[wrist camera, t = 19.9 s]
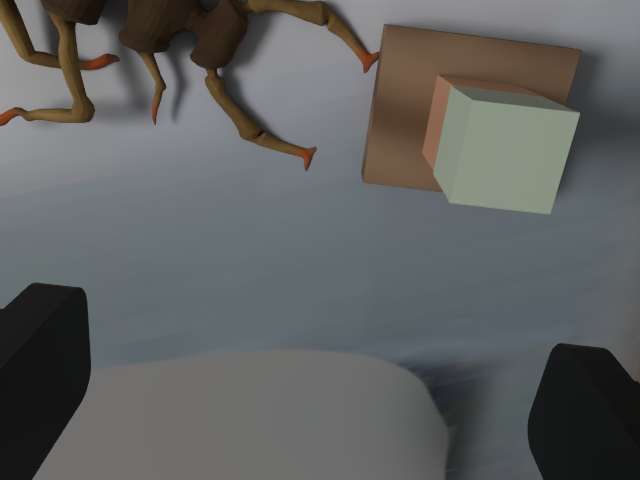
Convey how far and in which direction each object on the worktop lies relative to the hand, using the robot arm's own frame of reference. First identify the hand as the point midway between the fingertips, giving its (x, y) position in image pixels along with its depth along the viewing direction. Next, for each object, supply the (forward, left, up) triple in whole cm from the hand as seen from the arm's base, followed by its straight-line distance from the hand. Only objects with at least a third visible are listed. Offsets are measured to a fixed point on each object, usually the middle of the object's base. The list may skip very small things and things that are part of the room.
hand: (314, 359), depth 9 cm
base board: (0, +9, -30) cm, 31 cm away
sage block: (0, +9, -23) cm, 24 cm away
